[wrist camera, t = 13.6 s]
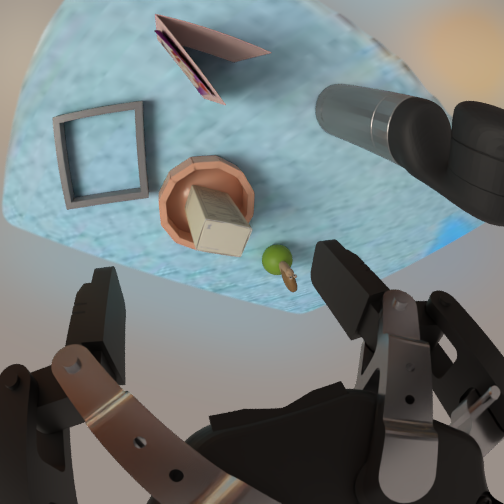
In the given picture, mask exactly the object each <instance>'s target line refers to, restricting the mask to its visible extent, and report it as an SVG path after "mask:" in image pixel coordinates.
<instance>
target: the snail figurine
mask: <svg viewBox="0 0 504 504" xmlns="http://www.w3.org/2000/svg"><path fill="white" fill-rule="evenodd" d="M292 261H293V259H292V254H291V252H290V251H289V249H288V248H286V247H285V246H283V245H278V244H277V245H272V246H270V247H268V248H267V249H266V250H265V251H264V253H263V256H262V264H263V266H264V268H265V270H266V271H267V272H269V273H271V274H273V275H281V274H282V278H283V281H284V283H285V285H286V287H287V288H288V289H289V290H290V291H291V292H295V291H297V283H296V280H295V278H296V277H297V275H296V274H294V272H293V270H292V269H291V268H290V267H291V265H292Z"/></svg>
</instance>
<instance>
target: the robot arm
mask: <svg viewBox="0 0 504 504" xmlns="http://www.w3.org/2000/svg"><path fill="white" fill-rule="evenodd" d="M316 117H317V120H318V123H319V125H320V126H321V127H322V129H323V130H324V131H325V132H327V133H329V134H331V135H333V136H336V137H338V138H340V139H343V140H345V141H347V142H350V143H352V144H354V145H357V146H359V147H361V148H364V149H366V150H368V151H370V152H372V153H374V154H377V155H379V156H381V157H383V158H385V159H387V160H389V161H391V162H393V163H395V164H397V165H399V166H401V167H403V168H405V169H406V170H407V171H408V172H409V173H410V174H411V175H412V176H414V177H415V178H417V179H418V180H420V181H422V182H423V183H425V184H426V185H428V186H429V187H431V188H432V189H434V190H435V191H437V192H438V193H440V194H441V195H442V196H444V197H445V198H447V199H448V200H449V201H451V202H452V203H454V204H455V205H456V206H458V207H459V208H461V209H462V210H464V211H465V212H467V213H469V214H470V215H472V216H474V217H475V218H477V219H480V220H482V221H484V222H487V223H489V224H493V225H497V226H504V109H501V108H498V107H496V106H493V105H489V104H486V103H482V102H476V101H464V102H461V103H459V104H458V105H457V106H456V107H455V109H454V114H453V120H452V130H451V126H450V123H449V120H448V118H447V116H446V114H445V112H444V111H443V109H442V108H441V107H440V106H439V105H437V104H436V103H434V102H432V101H430V100H427V99H423V98H419V97H414V96H410V95H405V94H400V93H395V92H390V91H384V90H379V89H373V88H366V87H360V86H353V85H345V84H334V85H331V86H329V87H327V88H325V89H324V90H323V91H322V92H321V94H320V95H319V97H318V100H317V103H316ZM311 281H312V284H313V286H314V287H315V289H316V290H317V292H318V293H319V294H320V296H321V297H322V299H323V300H324V302H325V303H326V305H327V306H328V307H329V309H330V310H331V312H332V313H333V315H334V316H335V318H336V319H337V320H338V322H339V323H340V325H341V326H342V328H343V329H344V331H345V332H346V334H347V335H348V337H349V338H350V339H351V340H354V339H357V338H360V337H362V338H363V339H364V341H363V343H362V346H361V353H360V361H359V368H358V375H357V381H356V384H355V388H354V389H345V387H344V385H343V384H342V382H341V381H340V382H337V383H334V384H331V385H328V386H325V387H322V388H319V389H316V390H313V391H311V392H309V393H308V394H306V395H304V396H303V397H301V398H300V399H298V400H296V401H294V402H293V403H291V404H289V405H288V406H286V407H283V408H277V409H276V408H275V409H242V410H238V411H233V412H228V413H223V414H217V415H212V416H209V420H210V425H209V426H206V427H204V428H202V429H201V430H199V431H197V432H195V433H194V434H193V435H191V436H190V437H189V438H188V439H187V440H186V441H185V442H184V441H183V440H182V439H180V438H179V437H178V436H177V435H175V434H174V433H173V432H172V431H171V430H170V429H169V428H167V427H166V426H165V425H164V424H163V423H162V422H161V421H159V420H158V419H157V418H156V417H155V416H154V415H153V414H152V413H151V412H150V411H149V410H148V409H147V408H145V407H144V406H143V405H142V404H141V403H140V402H139V401H138V400H137V399H136V398H135V397H134V396H133V395H132V394H131V393H130V392H128V391H126V392H125V391H124V390H123V389H122V388H121V387H120V386H119V385H125V320H126V309H125V302H124V298H123V294H122V291H121V287H120V284H119V280H118V276H117V273H116V270H115V267H114V266H112V267H104V268H96V269H95V270H94V274H93V278H92V282H91V283H86V284H83V286H82V287H81V288H80V290H79V291H78V292H77V294H76V298H75V302H74V307H73V311H72V315H71V320H70V325H69V330H68V334H67V340H66V345H65V347H63V348H62V349H60V350H59V351H58V352H57V353H56V354H55V356H54V358H53V360H52V364H51V365H50V366H48V367H45V368H42V369H40V370H37V371H34V372H31V373H30V372H29V371H28V370H27V368H26V367H25V366H23V365H20V364H13V365H11V366H8V367H7V368H6V369H5V370H4V371H3V372H2V373H1V375H0V504H78V503H77V497H76V491H75V485H74V477H73V469H72V459H71V446H70V427H72V426H75V425H78V424H81V423H84V422H86V425H87V426H88V428H89V429H90V430H91V432H92V433H93V434H94V435H95V437H96V438H97V439H98V440H99V441H100V443H101V444H102V445H103V446H104V447H105V449H106V450H107V451H108V452H109V453H110V454H111V455H112V456H113V458H114V459H115V460H116V461H117V462H118V463H119V464H120V465H121V466H122V467H123V468H124V469H125V470H126V471H127V472H128V473H129V474H130V475H131V476H132V477H133V478H134V479H135V480H136V481H137V482H138V483H139V484H140V485H141V486H142V487H143V488H144V489H145V490H146V491H147V492H148V493H149V494H151V497H150V499H149V500H148V502H147V504H503V503H501V502H500V501H498V500H496V499H495V498H494V497H493V496H492V495H491V494H490V492H489V490H488V487H487V483H486V479H485V473H484V461H483V457H484V456H485V455H486V454H487V453H489V452H490V450H492V449H493V448H494V447H495V446H496V445H497V444H498V443H499V442H500V441H502V440H503V439H504V357H503V355H502V354H501V353H500V352H499V350H498V349H497V348H496V346H495V345H494V344H493V343H492V341H491V340H490V339H489V338H488V336H487V335H486V334H485V333H484V332H483V330H482V329H481V328H480V327H479V326H478V324H477V323H476V322H475V321H474V320H473V319H472V317H471V316H470V315H469V314H468V313H467V312H466V311H465V309H464V308H463V307H462V306H461V305H460V304H459V303H458V302H457V301H456V300H455V299H454V298H453V297H452V296H451V295H450V294H448V293H446V292H444V291H434V292H432V294H431V295H430V297H429V299H428V301H415V300H414V299H413V298H412V297H411V296H410V295H409V294H407V293H406V292H403V291H400V290H390V289H389V288H388V287H387V286H386V285H385V284H384V283H383V282H382V281H381V280H380V279H379V277H378V276H377V275H376V274H375V273H374V272H373V271H372V270H370V268H369V267H368V266H367V265H366V264H364V262H363V261H362V260H361V259H360V258H359V257H358V256H357V255H356V254H354V253H352V252H351V251H349V250H346V249H345V248H344V247H343V246H342V245H341V244H340V243H339V242H338V241H337V240H335V239H334V240H326V241H319V242H317V244H316V247H315V252H314V258H313V263H312V268H311ZM443 334H445V335H446V337H447V338H448V339H449V341H450V342H451V343H452V345H453V346H454V347H455V349H456V351H457V359H456V361H455V362H454V364H453V363H452V361H451V360H450V358H449V357H448V356H447V354H446V353H445V352H444V350H443V349H442V347H441V346H440V345H439V343H438V342H439V341H440V339H441V337H442V336H443ZM432 389H433V391H434V392H435V394H436V395H437V397H438V399H439V401H440V402H441V404H442V405H443V407H444V409H445V410H446V412H447V414H448V415H449V417H450V418H451V424H450V425H446V424H444V423H441V422H439V421H436V420H433V392H432Z"/></svg>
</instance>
